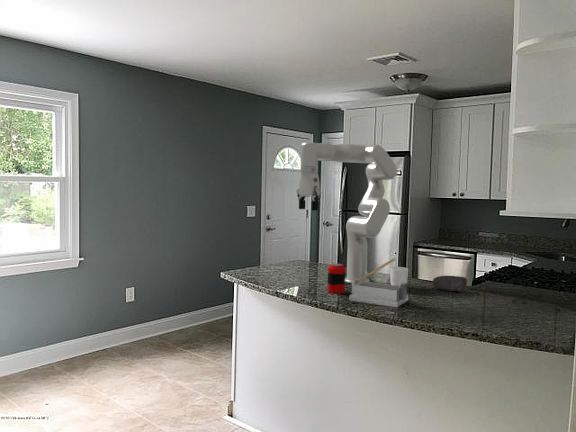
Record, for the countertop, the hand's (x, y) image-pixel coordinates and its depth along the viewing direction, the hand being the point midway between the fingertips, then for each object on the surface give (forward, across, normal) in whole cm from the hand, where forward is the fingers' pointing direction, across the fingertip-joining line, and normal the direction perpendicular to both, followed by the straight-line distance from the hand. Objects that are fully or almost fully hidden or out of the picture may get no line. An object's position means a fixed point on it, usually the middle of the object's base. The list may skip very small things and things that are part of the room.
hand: (308, 209), depth 218 cm
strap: (+24, -31, -12) cm, 41 cm away
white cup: (+36, -23, -34) cm, 54 cm away
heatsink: (+35, -32, -13) cm, 50 cm away
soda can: (+36, -12, -7) cm, 38 cm away
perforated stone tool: (+36, -34, -54) cm, 73 cm away
